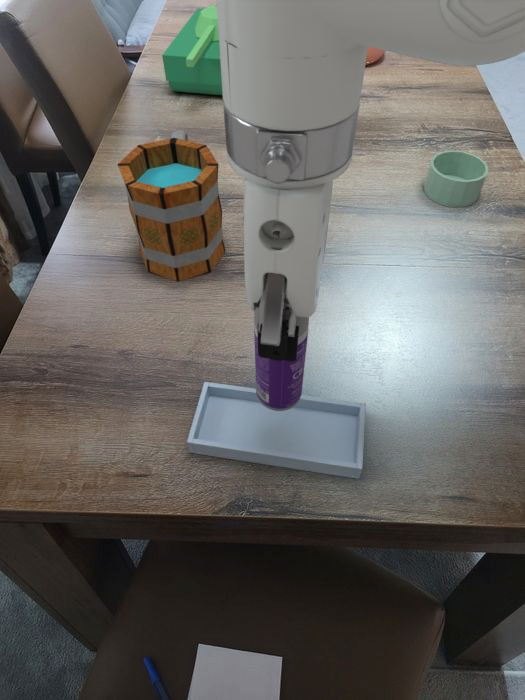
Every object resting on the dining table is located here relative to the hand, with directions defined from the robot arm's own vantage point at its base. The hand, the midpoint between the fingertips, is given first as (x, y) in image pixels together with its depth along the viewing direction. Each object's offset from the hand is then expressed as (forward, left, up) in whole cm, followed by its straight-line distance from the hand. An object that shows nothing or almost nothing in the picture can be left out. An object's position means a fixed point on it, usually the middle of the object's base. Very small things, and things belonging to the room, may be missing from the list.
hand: (282, 330), depth 43 cm
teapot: (-3, -105, -19) cm, 107 cm away
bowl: (-23, -52, -19) cm, 60 cm away
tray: (0, 0, -19) cm, 19 cm away
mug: (+20, -32, -19) cm, 42 cm away
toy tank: (+27, -88, -19) cm, 94 cm away
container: (0, 0, -10) cm, 10 cm away
